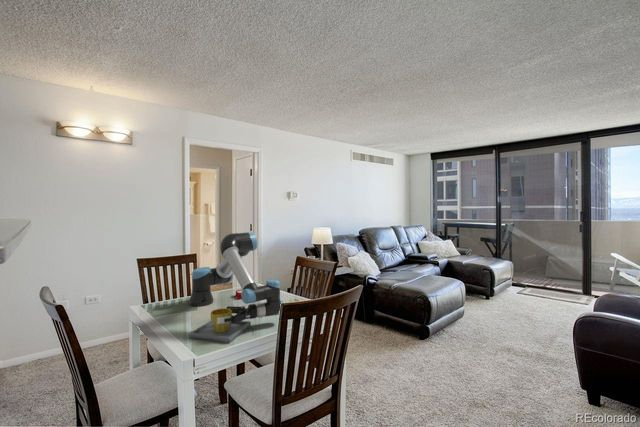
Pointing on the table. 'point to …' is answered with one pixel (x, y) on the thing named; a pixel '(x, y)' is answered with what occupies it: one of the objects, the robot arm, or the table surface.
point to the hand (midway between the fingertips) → (215, 316)
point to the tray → (226, 337)
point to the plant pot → (218, 314)
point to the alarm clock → (238, 294)
